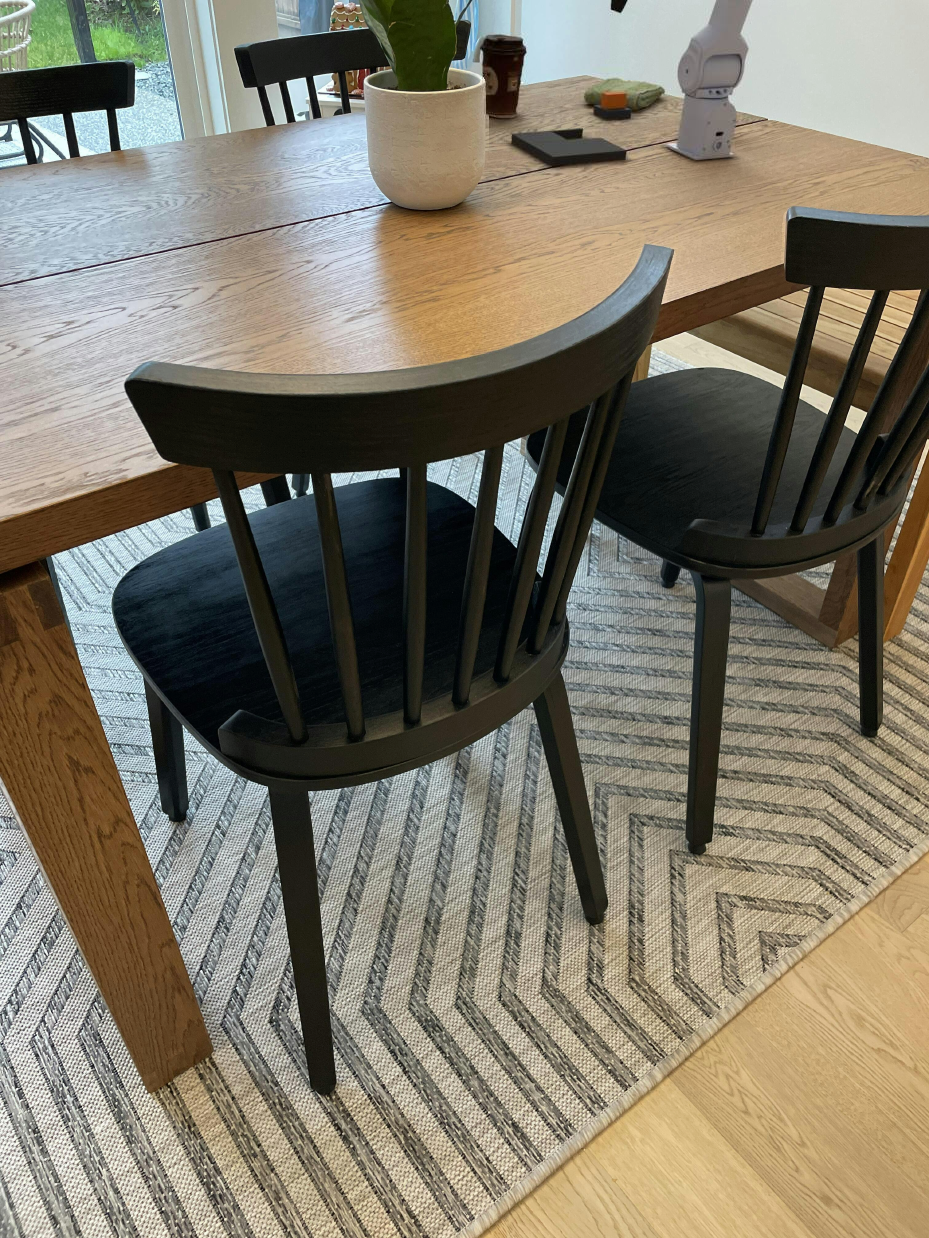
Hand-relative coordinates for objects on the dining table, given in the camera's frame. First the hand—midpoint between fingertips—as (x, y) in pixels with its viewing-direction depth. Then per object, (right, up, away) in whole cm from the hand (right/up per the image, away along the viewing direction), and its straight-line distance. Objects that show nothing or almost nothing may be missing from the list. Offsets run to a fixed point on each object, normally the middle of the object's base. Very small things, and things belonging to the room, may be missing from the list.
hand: (620, 1), depth 170 cm
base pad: (-11, -33, -11) cm, 37 cm away
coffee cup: (-22, -16, +9) cm, 29 cm away
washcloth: (+4, -7, +21) cm, 22 cm away
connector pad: (0, -16, +10) cm, 19 cm away
